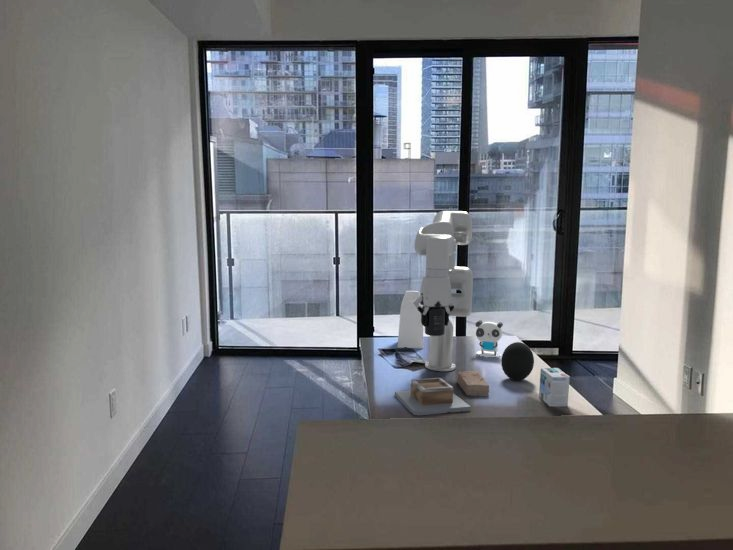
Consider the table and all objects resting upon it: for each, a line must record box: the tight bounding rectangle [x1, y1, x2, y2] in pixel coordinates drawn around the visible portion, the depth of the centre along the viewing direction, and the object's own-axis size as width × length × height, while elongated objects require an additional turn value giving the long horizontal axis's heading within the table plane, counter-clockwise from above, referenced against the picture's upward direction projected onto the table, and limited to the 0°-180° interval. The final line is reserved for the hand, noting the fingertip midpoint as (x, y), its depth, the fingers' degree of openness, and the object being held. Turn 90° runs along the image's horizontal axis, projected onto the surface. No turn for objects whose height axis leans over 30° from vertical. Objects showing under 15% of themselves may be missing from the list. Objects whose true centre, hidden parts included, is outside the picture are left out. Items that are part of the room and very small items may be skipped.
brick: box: [457, 370, 490, 397], centre depth 224 cm, size 17×8×5 cm, turn 5°
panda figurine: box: [475, 319, 504, 358], centre depth 272 cm, size 12×11×15 cm
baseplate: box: [394, 389, 472, 416], centre depth 207 cm, size 20×20×2 cm
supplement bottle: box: [424, 301, 445, 337], centre depth 203 cm, size 7×7×12 cm
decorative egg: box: [500, 341, 535, 381], centre depth 235 cm, size 12×12×15 cm
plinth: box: [410, 377, 454, 405], centre depth 207 cm, size 11×11×6 cm
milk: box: [397, 290, 424, 349], centre depth 285 cm, size 12×12×26 cm
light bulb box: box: [538, 367, 571, 407], centre depth 211 cm, size 11×7×11 cm, turn 5°
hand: (434, 324), depth 204 cm, fingers closed on supplement bottle, 6 cm apart
